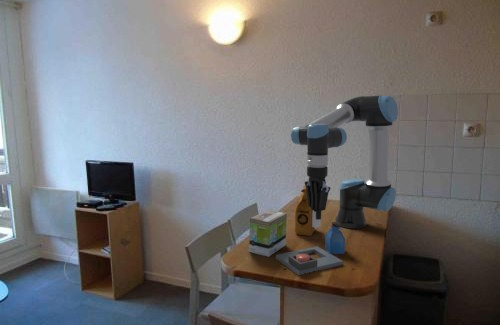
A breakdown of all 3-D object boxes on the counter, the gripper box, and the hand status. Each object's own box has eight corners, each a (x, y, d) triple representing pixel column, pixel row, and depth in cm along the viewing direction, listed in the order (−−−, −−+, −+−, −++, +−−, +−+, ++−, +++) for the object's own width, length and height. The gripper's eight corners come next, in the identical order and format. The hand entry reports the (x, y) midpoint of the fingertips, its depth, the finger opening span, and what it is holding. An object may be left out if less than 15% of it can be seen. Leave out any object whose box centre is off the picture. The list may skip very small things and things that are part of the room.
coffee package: (291, 234, 164) (292, 189, 161) (296, 226, 176) (297, 183, 172) (312, 237, 161) (314, 190, 158) (316, 228, 173) (317, 185, 169)
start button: (304, 258, 132) (304, 253, 131) (312, 263, 127) (312, 258, 127) (293, 260, 130) (293, 255, 129) (300, 265, 125) (301, 260, 125)
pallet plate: (317, 249, 146) (317, 240, 146) (342, 264, 132) (343, 254, 131) (275, 258, 138) (275, 248, 137) (298, 275, 123) (298, 264, 123)
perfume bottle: (325, 248, 148) (326, 221, 146) (339, 247, 149) (340, 220, 147) (329, 254, 142) (330, 225, 140) (344, 253, 142) (345, 225, 141)
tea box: (269, 257, 138) (270, 221, 136) (248, 252, 144) (248, 217, 141) (286, 245, 151) (287, 212, 149) (266, 240, 156) (266, 209, 154)
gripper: (298, 164, 133) (298, 223, 137) (319, 169, 122) (318, 233, 125) (315, 162, 136) (314, 220, 140) (336, 167, 125) (335, 230, 129)
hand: (316, 226), depth 133 cm, fingers closed
